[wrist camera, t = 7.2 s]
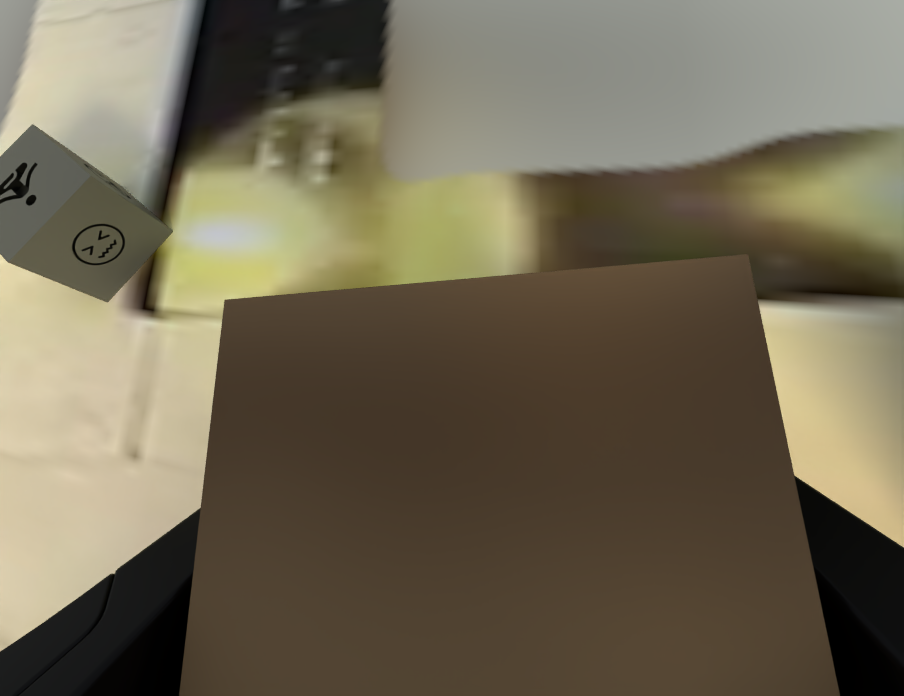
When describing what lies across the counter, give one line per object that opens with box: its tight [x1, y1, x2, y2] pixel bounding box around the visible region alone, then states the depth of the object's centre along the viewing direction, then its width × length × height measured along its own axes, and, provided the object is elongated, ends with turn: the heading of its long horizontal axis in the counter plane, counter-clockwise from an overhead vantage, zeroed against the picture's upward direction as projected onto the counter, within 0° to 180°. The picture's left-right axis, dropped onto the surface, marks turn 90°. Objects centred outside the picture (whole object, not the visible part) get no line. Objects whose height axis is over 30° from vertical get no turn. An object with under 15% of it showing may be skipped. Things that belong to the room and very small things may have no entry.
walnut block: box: [179, 254, 840, 696], centre depth 9 cm, size 6×6×10 cm
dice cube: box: [0, 124, 173, 302], centre depth 23 cm, size 5×5×5 cm
